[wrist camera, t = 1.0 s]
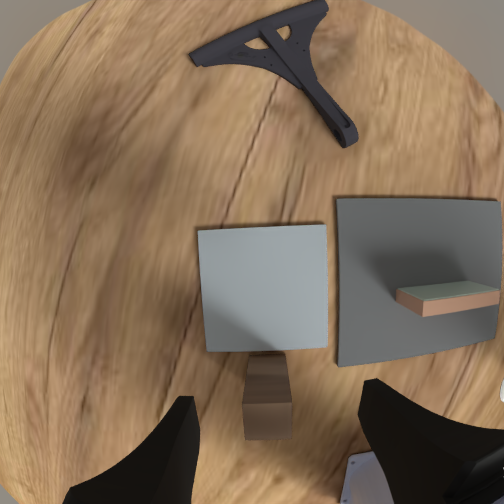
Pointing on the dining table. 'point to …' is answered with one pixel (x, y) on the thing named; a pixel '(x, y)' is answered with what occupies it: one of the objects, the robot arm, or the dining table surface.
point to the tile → (446, 297)
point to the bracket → (283, 59)
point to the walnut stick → (267, 398)
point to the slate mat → (412, 273)
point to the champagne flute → (502, 391)
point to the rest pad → (264, 288)
